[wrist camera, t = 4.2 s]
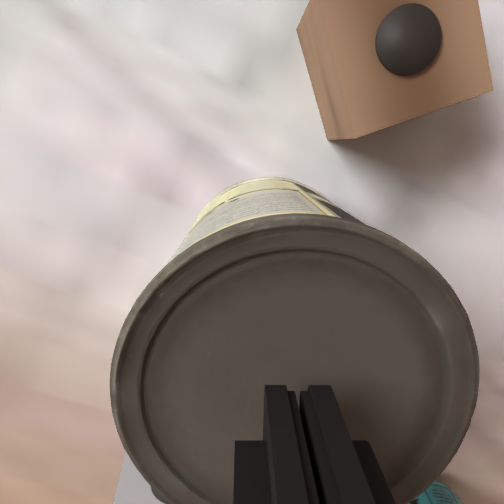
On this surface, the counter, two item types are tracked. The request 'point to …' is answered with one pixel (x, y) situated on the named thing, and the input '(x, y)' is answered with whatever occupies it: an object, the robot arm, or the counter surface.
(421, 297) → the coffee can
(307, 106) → the counter surface
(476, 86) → the walnut dotted block
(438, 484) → the beverage bottle
